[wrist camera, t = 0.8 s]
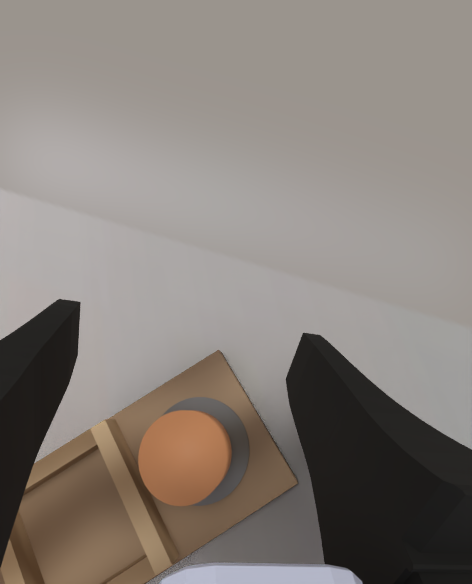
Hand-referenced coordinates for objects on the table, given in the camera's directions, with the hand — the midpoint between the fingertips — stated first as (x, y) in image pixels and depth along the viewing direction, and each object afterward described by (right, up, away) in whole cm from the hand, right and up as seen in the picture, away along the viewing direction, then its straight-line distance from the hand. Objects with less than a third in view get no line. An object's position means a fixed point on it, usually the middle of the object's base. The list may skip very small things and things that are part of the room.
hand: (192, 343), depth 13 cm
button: (-1, -7, +9) cm, 12 cm away
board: (-5, -11, +12) cm, 17 cm away
